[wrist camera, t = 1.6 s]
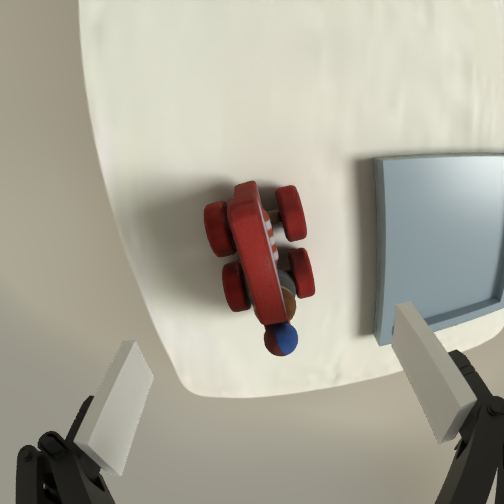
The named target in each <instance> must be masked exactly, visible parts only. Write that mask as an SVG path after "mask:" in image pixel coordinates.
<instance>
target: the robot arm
mask: <svg viewBox="0 0 504 504" xmlns="http://www.w3.org/2000/svg"><path fill="white" fill-rule="evenodd" d="M392 348H393V350H394V352H395V354H396V356H397V358H398V359H399V361H400V363H401V365H402V367H403V369H404V371H405V373H406V375H407V377H408V379H409V381H410V383H411V385H412V387H413V389H414V392H415V394H416V395H417V398H418V400H419V402H420V404H421V406H422V408H423V411H424V413H425V415H426V417H427V419H428V422H429V424H430V426H431V428H432V431H433V433H434V435H435V437H436V440H437V442H438V445H441V444H443V443H446V442H448V441H450V440H452V439H454V438H455V437H456V435H457V434H458V432H459V433H460V435H461V437H462V438H461V439H460V441H459V442H458V444H457V445H456V447H455V449H454V450H456V449H457V451H456V454H455V456H454V459H453V462H452V464H451V467H450V470H449V472H448V475H447V477H446V479H445V482H444V484H443V486H442V489H441V491H440V493H439V496H438V498H437V500H436V502H435V504H486V502H487V499H488V496H489V493H490V490H491V487H492V484H493V481H494V478H495V474H496V471H497V467H498V472H497V487H496V496H495V504H504V399H503V398H501V397H499V396H493V395H492V394H491V393H490V391H489V390H488V388H487V386H486V385H485V383H484V382H483V380H482V379H481V377H480V376H479V374H478V373H477V372H476V371H475V369H474V367H473V366H472V365H471V363H470V361H469V360H468V359H467V357H466V356H465V355H464V354H462V353H461V352H459V351H458V350H454V351H451V352H448V353H447V351H446V350H445V348H444V347H443V345H442V344H441V343H440V341H439V340H438V338H437V337H436V335H435V334H434V333H433V331H432V330H431V328H430V327H429V326H428V324H427V323H426V322H425V320H424V319H423V318H422V316H421V315H420V313H419V312H418V311H417V309H416V308H415V307H414V306H413V304H412V303H411V302H410V301H408V302H404V303H400V304H397V305H396V315H395V324H394V332H393V340H392ZM153 378H154V376H153V374H152V373H151V371H150V369H149V367H148V365H147V363H146V361H145V359H144V357H143V355H142V353H141V351H140V349H139V347H138V345H137V343H136V341H135V340H132V341H131V340H130V341H123V342H122V344H121V346H120V348H119V350H118V352H117V353H116V355H115V357H114V359H113V361H112V363H111V365H110V366H109V368H108V371H107V372H106V374H105V376H104V378H103V380H102V382H101V384H100V386H99V388H98V390H97V392H96V394H95V396H89V397H88V398H87V399H86V400H85V401H84V402H83V404H82V406H81V408H80V410H79V412H78V414H77V416H76V419H75V420H74V422H73V424H72V426H71V428H70V430H69V433H68V435H67V437H66V439H65V440H64V439H63V438H62V437H61V436H60V435H59V434H58V433H57V432H54V431H49V432H46V433H45V434H43V435H42V436H41V437H40V439H39V441H38V448H39V449H40V450H41V451H38V450H37V449H36V448H35V447H34V446H32V445H26V446H24V447H23V448H21V449H20V451H19V453H18V456H17V470H16V504H115V502H114V500H113V498H112V496H111V494H110V492H109V490H108V488H107V486H106V484H105V481H104V479H103V477H102V475H101V474H100V473H99V472H100V469H101V468H102V469H103V470H104V471H105V472H106V473H107V474H112V475H116V476H122V473H123V469H124V466H125V463H126V460H127V457H128V453H129V450H130V447H131V444H132V440H133V438H134V434H135V431H136V428H137V425H138V422H139V419H140V416H141V413H142V410H143V407H144V404H145V401H146V398H147V396H148V393H149V390H150V387H151V384H152V381H153ZM44 484H45V488H44V487H43V485H44Z"/></svg>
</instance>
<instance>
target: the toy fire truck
mask: <svg viewBox="0 0 504 504" xmlns="http://www.w3.org/2000/svg"><path fill="white" fill-rule="evenodd" d="M275 195H276V199H277V204H278V208H279V209H278V210H271V211H265V210H264V209H263V207H262V203H261V200H260V196H259V192H258V188H257V185H256V182H255V181H249V182H246V183H242V184H239V185H237V186H236V187H235V190H234V195H233V198H231V199H230V200H229V202H228V206H227V204H226V203H225V202H223V201H219V202H216V203H212V204H209V205H207V206H206V207H205V209H204V223H205V229H206V233H207V237H208V240H209V243H210V246H211V248H212V250H213V252H214V253H215V254H216V256H218V257H224V256H229V255H233V254H235V253H236V252H237V251H238V254H239V257H240V260H241V262H238V261H237V262H233V263H228V264H225V265H224V266H223V270H222V280H223V287H224V292H225V296H226V300H227V302H228V305H229V306H230V308H231V310H232V311H233V312H240V311H245V310H248V309H250V308H251V303H252V305H253V307H254V312H255V315H256V317H257V318H258V320H259V321H260V323H261V324H263V325H264V327H265V330H266V331H265V334H264V342H265V346H266V348H267V350H268V351H269V352H270V353H272V354H273V355H276V356H286V355H288V354H290V353H292V352H293V351H294V350H295V348H296V346H297V343H298V335H297V331H296V329H295V328H294V327H293V326H292V325H291V324H290V320H291V319H292V318H293V316H294V314H295V310H296V301H295V295H297V297H298V298H300V299H302V298H306V297H310V296H313V295H314V294H315V284H314V278H313V273H312V268H311V264H310V260H309V257H308V254H307V251H306V250H305V249H304V248H298V249H294V250H290V251H288V253H287V254H288V260H289V265H290V269H289V270H283V271H282V270H280V269H278V267H277V262H278V258H279V256H278V252H277V247H276V242H275V239H274V235H273V230H272V226H271V224H275V223H279V222H282V224H283V228H284V232H285V236H286V238H287V239H288V241H290V242H293V241H297V240H301V239H304V238H305V237H306V235H307V228H306V222H305V217H304V212H303V208H302V204H301V201H300V197H299V194H298V192H297V189H296V187H295V186H293V185H289V186H285V187H281V188H277V189H276V191H275Z"/></svg>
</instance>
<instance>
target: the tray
mask: <svg viewBox="0 0 504 504" xmlns="http://www.w3.org/2000/svg"><path fill="white" fill-rule="evenodd" d="M373 160H374V172H375V186H376V205H377V291H376V310H375V324H374V336H375V338H376V340H377V342H378V345H379V346H383V345H388V344H392V340H393V332H394V324H395V315H396V305H397V304H400V303H404V302H408V301H410V302H411V303H412V304H413V306H414V307H415V308H416V309H417V311H418V312H419V313H420V315H421V316H422V318H423V319H424V320H425V322H426V323H427V324H428V326H429V327H430V328H431V330H432V331H433V332H436V331H439V330H442V329H445V328H449V327H452V326H455V325H458V324H461V323H464V322H467V321H470V320H473V319H475V318H478V317H481V316H484V315H486V314H489V313H492V312H494V311H497V310H500V309H502V308H504V153H449V154H422V155H404V156H389V157H376V158H373Z"/></svg>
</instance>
